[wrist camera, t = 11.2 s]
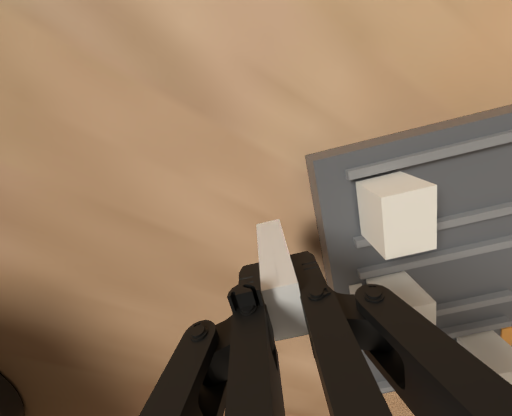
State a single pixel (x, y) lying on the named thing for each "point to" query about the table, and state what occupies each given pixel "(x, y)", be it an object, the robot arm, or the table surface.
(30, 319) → the table surface
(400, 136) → the switch panel
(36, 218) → the table surface
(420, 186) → the switch
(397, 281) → the switch middle
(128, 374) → the table surface
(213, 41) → the table surface
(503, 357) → the switch
